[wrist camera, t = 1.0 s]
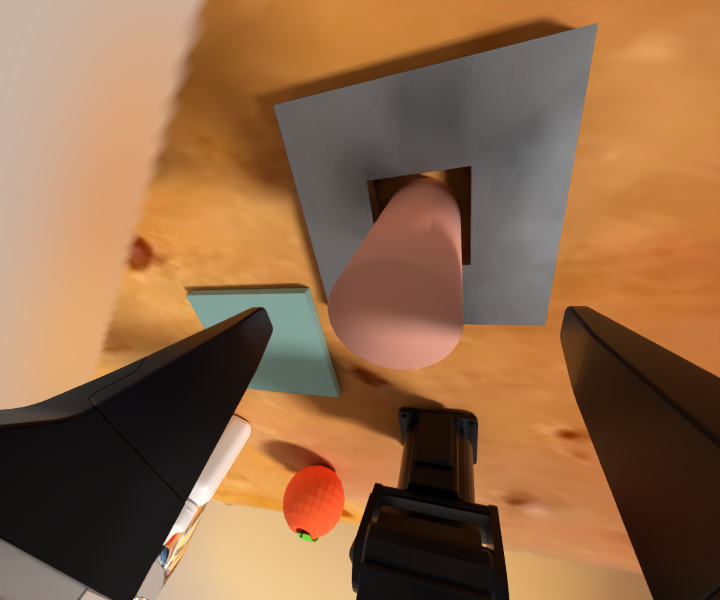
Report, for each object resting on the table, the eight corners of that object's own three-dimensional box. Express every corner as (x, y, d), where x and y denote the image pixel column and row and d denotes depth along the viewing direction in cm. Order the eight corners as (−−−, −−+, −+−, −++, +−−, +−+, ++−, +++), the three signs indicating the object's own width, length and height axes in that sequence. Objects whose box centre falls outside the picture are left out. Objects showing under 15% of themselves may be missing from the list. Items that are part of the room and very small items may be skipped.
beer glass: (209, 452, 43) (114, 587, 31) (239, 479, 46) (162, 613, 34) (181, 453, 46) (85, 577, 34) (211, 478, 49) (131, 601, 37)
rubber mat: (340, 390, 27) (338, 397, 27) (242, 381, 31) (237, 387, 30) (309, 287, 22) (304, 293, 21) (193, 290, 25) (186, 295, 25)
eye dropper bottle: (213, 419, 37) (129, 530, 28) (239, 411, 34) (156, 532, 25) (237, 440, 39) (165, 552, 29) (264, 434, 36) (194, 557, 26)
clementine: (360, 493, 38) (342, 563, 32) (312, 484, 40) (288, 548, 35) (343, 456, 34) (320, 528, 28) (291, 449, 36) (260, 515, 31)
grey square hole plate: (539, 310, 18) (545, 325, 17) (340, 310, 22) (333, 322, 21) (583, 31, 11) (597, 23, 10) (287, 104, 16) (273, 105, 14)
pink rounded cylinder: (460, 245, 17) (463, 373, 9) (392, 250, 18) (342, 365, 10) (460, 172, 15) (463, 254, 7) (383, 182, 16) (313, 262, 8)
